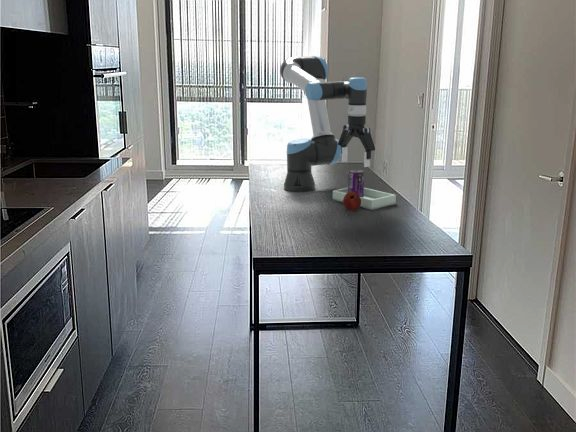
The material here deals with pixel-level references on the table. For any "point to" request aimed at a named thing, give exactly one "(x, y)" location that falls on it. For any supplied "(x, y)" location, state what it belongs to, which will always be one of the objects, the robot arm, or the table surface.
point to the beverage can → (356, 182)
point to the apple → (352, 201)
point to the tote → (368, 198)
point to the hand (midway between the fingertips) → (355, 164)
